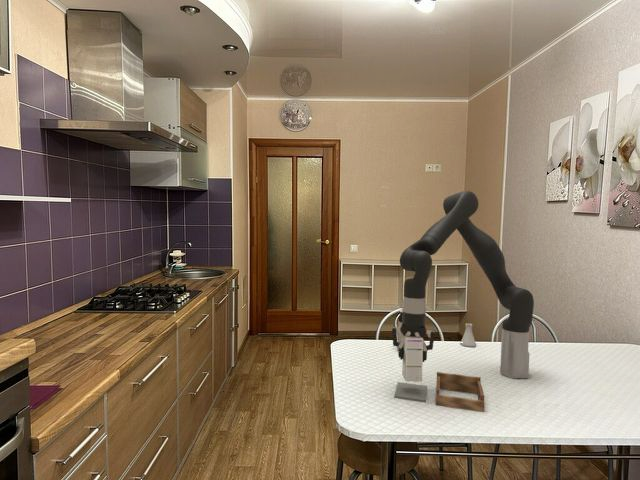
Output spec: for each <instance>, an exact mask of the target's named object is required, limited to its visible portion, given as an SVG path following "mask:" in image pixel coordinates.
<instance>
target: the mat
mask: <svg viewBox="0 0 640 480" xmlns="http://www.w3.org/2000/svg"><path fill="white" fill-rule="evenodd" d="M427 395H428V385H423V384H418V383H417V384H416V383H415V384H414V383H408V382H403V381H402V382H401V381H397V384H396V389H395V392H394V395H393V398H395V399H402V400H408V401H415V402H421V403H427Z"/></svg>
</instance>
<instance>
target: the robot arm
mask: <svg viewBox="0 0 640 480" xmlns="http://www.w3.org/2000/svg"><path fill="white" fill-rule="evenodd" d="M442 206H443V211H444V213H445V215H444V216H443V217H441V218H440V219H439V220H438V221H436V222H435V223H434V224H432V225H431V226H430V227H428V229H427V230H426V232H425V233H423V234H422V236H421V237H420V239H418V240H417V241H415V242H414V243H412V244H411V245H409V246H408V247H407V248H405V249H404V250H403V252H401V255H400V257H399V265H400V267H401V268H402V269H403V270H404V271H409V272H414V275H413V277H411V278H407V279H405V280H404V283H403V298H402V299H403V300H402V307H401V309H402V326H401V328H398V327H397V326H393V327H392V330H391V331H392V332H391V333H392V334H391V335H392V345H393V347H398V348H399V351H398V350H397V351H398V354H397V355H398V356H397V357H398V358H399V359H400V360H402V361H403V345H404V344H405V337H409V336H415V337H419V338H423V337H425V335H427V337H428V338H429V343H428V344H426V342H425V340H424V338H423V363H425V361H427V357H428V356H427V355H428V351H432V350H433V348H434V343H435V342H434V340H435V330H433V329H432V330H429V329H428V330H427V328H426V316H427V315H426V314H427V309H426V308H427V302H426V293H427V292H426V291H427V287H426V286H427V283H428V279H429V276H430V274H431V270H432V268H433V267H432V266H433V259H432V256H433V255H435V254H437V252H438V251H439V250H440V249H441V247H442V246H443V245H444V244H445V242H446V241H447V240H448V238H450V237H451V235H452V234H453V233H454V232H455V231H458V233H459V234H460V235H461V237H462V238H463V240H464V242H465V243H466V245H467V246H468V248H469V250H470V251H471V253H472V255H473V256H474V258H475V260H476V262H477V263H478V265H479V266H480V268H481V269H482V271H483V273H484V274H485V276H486V277H487V279H488V281H489V283H490V284H491V286H492V288H493V291H494V293H495V295H496V296H497V297H496V298H497V299H498V301H499V303H500V304H501V306H503V308H505V309H506V310H507V311H508V310H509V315H508V318H506V319H504V320H503V321H502V324H501V344H500V346H501V347H500V365H499V366H500V367H499V368H500V371H499V372H500V375H502V376H505V377H508V378H511V379H517V378H523V379H529V375H530V373H529V371H530V354H531V353H530V352H529V342H530V328H531V326H532V322H533V315H534V305H535V304H534V303H535V302H534V301H535V299H534V296H533V293H532V292H531V291H530V290H528V289H526V288H522V287H518V286H516V285H515V284H514V283H513V281H512V280H511V277H510V276H509V275H508V273H507V270H506V259H505V256H504V254H503V251H502V250H501V248H500V246H499V245H498V243H497V242H496V239H494V238H493V237H492V236H491V235H490V234H487V233H486V232H485V231H483V230H482V229H480V228H478V227H477V225H475V224H474V223H473V222H472V220H471V219H470V217H472V216H474V214H476V212H477V211H478V209H479V199H478V197H477V195H476V193H474V192H473V191H470V190H465V191H460V192H457V193H454V194H451V195H449V196H447V197H446V198H444V200H443V203H442ZM399 331H401V333H402V334H403V336H404V337H403V338H402V340H401V342H400V343H399V342H398V333H399Z"/></svg>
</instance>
